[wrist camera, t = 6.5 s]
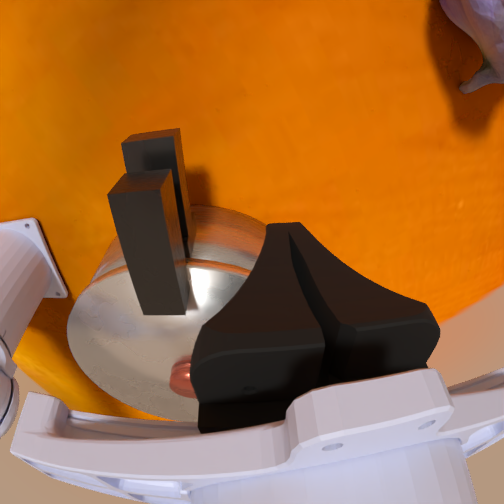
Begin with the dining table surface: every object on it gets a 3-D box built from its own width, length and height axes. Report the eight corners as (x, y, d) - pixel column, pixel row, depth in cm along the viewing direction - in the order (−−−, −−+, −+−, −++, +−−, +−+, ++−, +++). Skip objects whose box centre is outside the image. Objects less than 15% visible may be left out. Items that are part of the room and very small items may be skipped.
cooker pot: (299, 355, 30) (308, 407, 25) (135, 359, 30) (124, 408, 25) (317, 107, 17) (350, 131, 12) (52, 139, 17) (0, 174, 12)
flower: (554, 159, 11) (605, 32, 3) (441, 123, 14) (462, -40, 6) (517, 80, 15) (537, -20, 6) (425, 54, 18) (427, -58, 9)
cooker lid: (309, 411, 25) (313, 436, 23) (120, 410, 25) (115, 434, 23) (361, 159, 12) (385, 183, 10) (1, 190, 12) (-27, 215, 10)
